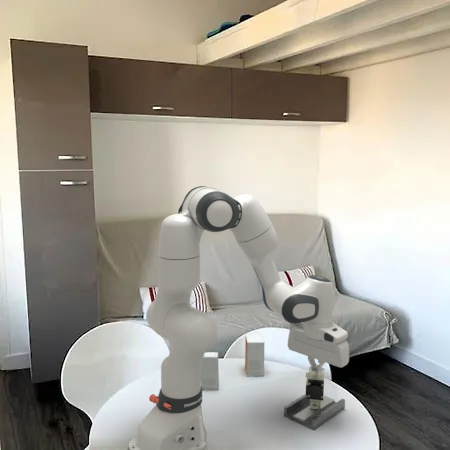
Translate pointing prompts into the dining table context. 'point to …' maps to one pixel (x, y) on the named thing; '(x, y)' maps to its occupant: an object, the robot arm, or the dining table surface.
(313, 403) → the pneumatic valve
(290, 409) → the rail plate
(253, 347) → the small box
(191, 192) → the robot arm
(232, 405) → the dining table surface
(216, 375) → the skincare box
